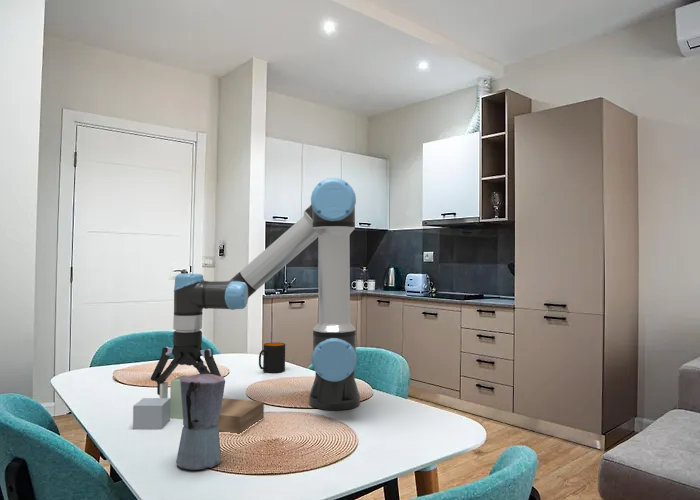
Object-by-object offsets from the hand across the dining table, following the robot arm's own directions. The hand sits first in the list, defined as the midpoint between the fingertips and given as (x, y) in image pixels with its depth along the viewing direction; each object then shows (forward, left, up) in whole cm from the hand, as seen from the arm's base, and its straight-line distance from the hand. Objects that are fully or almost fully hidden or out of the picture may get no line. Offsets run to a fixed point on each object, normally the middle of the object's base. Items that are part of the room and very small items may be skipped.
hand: (185, 409), depth 139 cm
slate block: (+4, +9, -2) cm, 10 cm away
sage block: (0, 0, -2) cm, 2 cm away
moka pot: (-20, +29, -2) cm, 36 cm away
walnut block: (-14, +4, -2) cm, 15 cm away
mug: (-2, -58, -2) cm, 58 cm away
